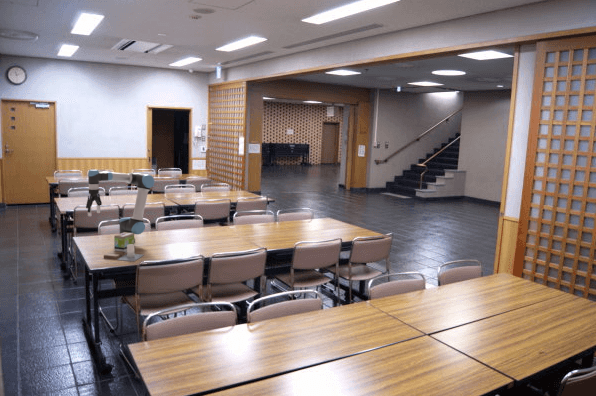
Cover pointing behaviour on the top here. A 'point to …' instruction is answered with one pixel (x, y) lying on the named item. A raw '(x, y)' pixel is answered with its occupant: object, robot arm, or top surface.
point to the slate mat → (130, 258)
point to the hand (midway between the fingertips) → (94, 214)
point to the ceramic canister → (130, 251)
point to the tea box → (123, 241)
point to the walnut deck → (114, 254)
